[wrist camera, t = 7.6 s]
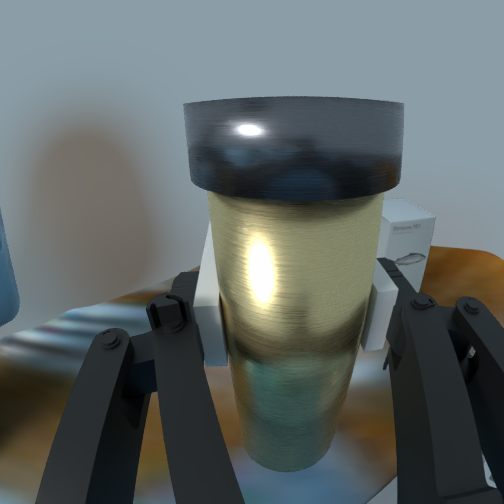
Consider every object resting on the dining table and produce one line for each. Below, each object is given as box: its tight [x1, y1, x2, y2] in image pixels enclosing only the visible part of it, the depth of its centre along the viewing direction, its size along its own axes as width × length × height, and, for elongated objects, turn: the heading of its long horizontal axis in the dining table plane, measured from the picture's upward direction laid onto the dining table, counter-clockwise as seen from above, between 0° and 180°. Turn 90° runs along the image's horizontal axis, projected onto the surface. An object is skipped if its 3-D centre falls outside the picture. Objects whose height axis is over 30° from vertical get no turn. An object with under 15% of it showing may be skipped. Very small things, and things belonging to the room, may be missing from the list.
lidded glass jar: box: [183, 96, 404, 472], centre depth 11 cm, size 6×6×16 cm
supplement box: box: [376, 198, 436, 293], centre depth 37 cm, size 7×7×13 cm
